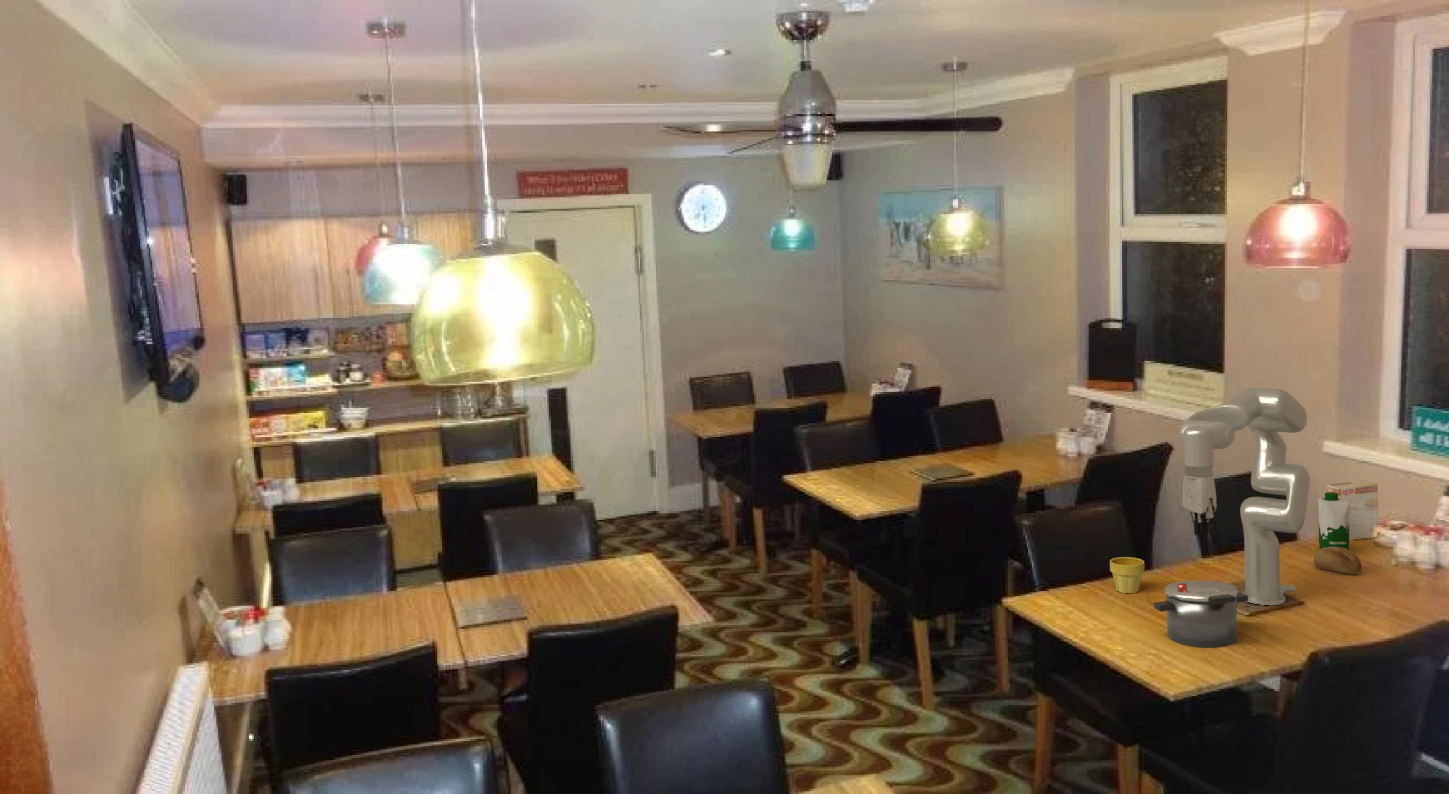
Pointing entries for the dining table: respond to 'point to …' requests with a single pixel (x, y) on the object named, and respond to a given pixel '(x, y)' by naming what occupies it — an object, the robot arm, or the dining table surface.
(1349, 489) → the coffeecake box
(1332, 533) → the milk carton
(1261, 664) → the dining table surface
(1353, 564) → the bread roll
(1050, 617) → the dining table surface
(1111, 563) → the plant pot
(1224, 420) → the robot arm
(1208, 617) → the pressure cooker
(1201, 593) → the cooker lid
